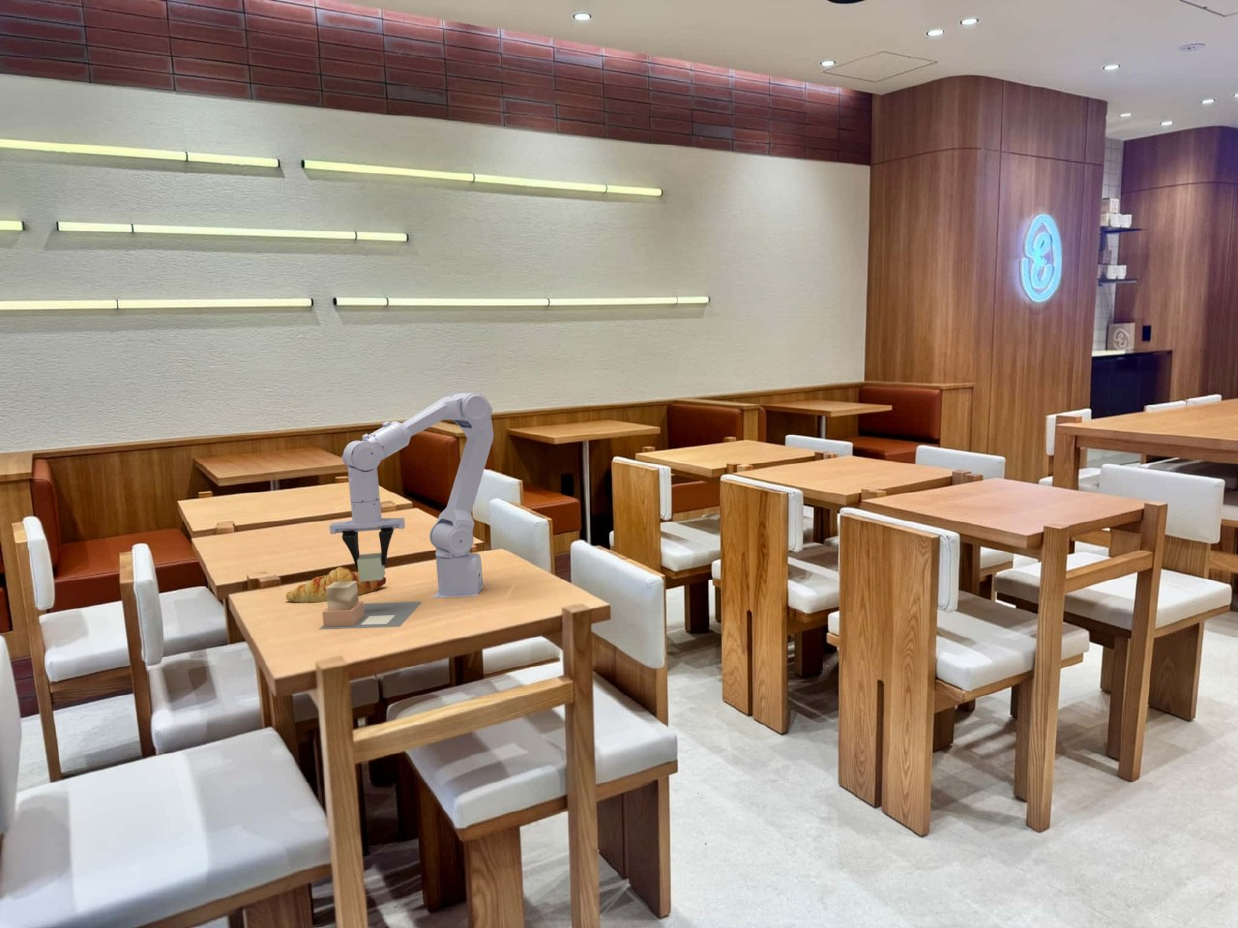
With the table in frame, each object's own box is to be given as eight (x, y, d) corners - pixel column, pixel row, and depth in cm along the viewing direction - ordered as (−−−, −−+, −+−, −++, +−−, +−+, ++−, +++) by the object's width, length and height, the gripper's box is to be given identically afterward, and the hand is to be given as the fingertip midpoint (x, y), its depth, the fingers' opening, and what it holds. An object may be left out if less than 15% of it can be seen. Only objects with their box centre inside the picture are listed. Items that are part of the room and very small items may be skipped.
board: (422, 603, 177) (422, 601, 177) (400, 629, 161) (399, 626, 161) (348, 606, 178) (348, 603, 178) (318, 631, 162) (318, 629, 162)
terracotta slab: (364, 615, 169) (363, 601, 168) (354, 625, 163) (352, 610, 163) (335, 616, 169) (334, 602, 169) (323, 626, 163) (322, 611, 163)
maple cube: (358, 602, 168) (356, 580, 167) (350, 609, 163) (348, 587, 163) (336, 603, 168) (334, 581, 167) (328, 610, 164) (325, 588, 163)
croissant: (289, 623, 179) (285, 596, 175) (285, 592, 187) (281, 565, 182) (390, 605, 187) (388, 579, 183) (382, 575, 195) (381, 549, 190)
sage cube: (385, 573, 174) (383, 552, 173) (382, 579, 170) (380, 558, 169) (362, 575, 174) (360, 554, 173) (359, 581, 169) (357, 560, 168)
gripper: (404, 494, 174) (409, 557, 176) (331, 499, 172) (338, 563, 174) (400, 499, 167) (406, 565, 169) (325, 505, 165) (331, 572, 167)
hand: (371, 565), depth 171 cm, fingers closed on sage cube, 4 cm apart
